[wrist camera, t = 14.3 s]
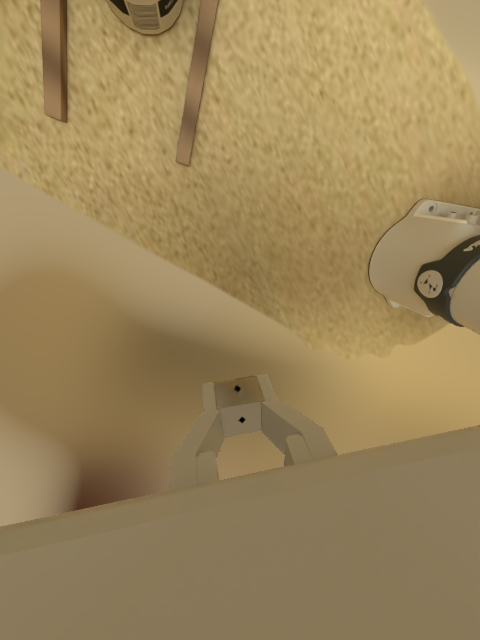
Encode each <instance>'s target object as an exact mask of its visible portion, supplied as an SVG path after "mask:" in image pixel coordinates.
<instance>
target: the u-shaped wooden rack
mask: <svg viewBox="0 0 480 640" xmlns="http://www.w3.org/2000/svg"><path fill="white" fill-rule="evenodd" d="M40 2H41V29H42V56H43V84H44V111H45V115H47V116H49V117H51V118H54V119H57V120H60V121H63V122H65V123H67V0H40ZM217 5H218V0H202V1H201V7H200V13H199V19H198V26H197V32H196V38H195V45H194V51H193V57H192V63H191V70H190V76H189V82H188V89H187V95H186V101H185V107H184V114H183V120H182V126H181V133H180V139H179V145H178V151H177V158H176V162H178V163H181V164H184V165H186V166H189V161H190V155H191V150H192V144H193V138H194V133H195V127H196V122H197V116H198V111H199V105H200V99H201V94H202V88H203V83H204V77H205V72H206V66H207V60H208V55H209V49H210V44H211V38H212V33H213V27H214V21H215V16H216V10H217Z"/></svg>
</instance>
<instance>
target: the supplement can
mask: <svg viewBox="0 0 480 640" xmlns="http://www.w3.org/2000/svg"><path fill="white" fill-rule="evenodd" d="M106 1H107V3H108V5H109V6H110V8H111V9H112V11H113V13H114V14H115V15H116V16H117V17H118V18H119V19H120V20H121V21H123V22H124V23H125V24H126V25H127V26H128V27H129V28H132V29H134V30H136V31H138V32H140V33H142V34H159V33H161V32H163V31H165V30H167V29H169V28H170V27H171V26H172V25H173V23H174V22H175V20H176V19H177V18H178V16H179V15H180V12H181V8H182V5H183V1H184V0H106Z"/></svg>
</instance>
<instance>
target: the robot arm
mask: <svg viewBox="0 0 480 640" xmlns="http://www.w3.org/2000/svg"><path fill="white" fill-rule="evenodd" d="M429 208H430V209H429ZM369 276H370V281H371V284H372V286H373V287H374V288H375V290H376V291H378V292H379V293H380V294H382V295H383V296H384V297H385V298H386V300H387V303H388V304H389V306H391V307H393V308H399V307H402V306H403V307H405V308H408V309H410V310H412V311H414V312H416V313H418V314H421V315H423V316H425V317H431V316H435V315H436V316H438V317H439V318H440V319H442V320H444V321H446V322H448V323H452V324H454V325H456V326H460V327H466V328H468V329H470V330H472V331H474V332H476V333H478V334H480V209H479V208H474V207H468V206H463V205H458V204H452V203H447V202H441V201H436V200H430V199H421V200H420V201H419V202H417V203H416V205H415V206H414V207H413V208H412V209H411V211H410V212H409V213H408V215H407V216H406V217H405V218H404V219H402V220H401V221H400V222H398V223H397V224H395V225H394V226H393V227H392V228H391V229H390V230H389V231H388V232H387V233H386V234H385V235H384V236H383V237H382V239H381V240H380V242H379V243H378V245H377V246H376V248H375V250H374V252H373V255H372V258H371V261H370V267H369ZM202 389H203V403H204V404H203V406H204V412H202V413H200V414H199V416H198V417H197V419H196V421H195V422H194V423H193V425H192V427H191V428H190V430H189V431H188V433H187V434H186V436H185V437H184V439H183V441H182V442H181V443H180V445H179V447H178V448H177V449H176V451H175V452H174V454H173V456H172V457H171V467H170V479H169V491H167V492H162V493H157V494H152V495H148V496H143V497H138V498H134V499H129V500H125V501H120V502H115V503H110V504H105V505H101V506H96V507H91V508H87V509H82V510H77V511H73V512H68V513H63V514H58V515H53V516H49V517H44V518H40V519H35V520H30V521H25V522H20V523H16V524H11V525H6V526H2V527H0V640H480V425H478V426H474V427H468V428H464V429H459V430H454V431H450V432H445V433H440V434H436V435H431V436H426V437H421V438H417V439H412V440H407V441H403V442H398V443H393V444H389V445H383V446H379V447H374V448H369V449H365V450H360V451H355V452H350V453H346V454H341V455H338V454H337V453H336V451H335V449H334V447H333V446H332V443H331V442H330V440H329V438H328V436H327V434H326V433H325V430H324V429H323V428H322V427H321V426H319V425H318V424H316V423H315V422H313V421H312V420H310V419H309V418H307V417H306V416H305V415H303V414H302V413H300V412H299V411H297V410H296V409H294V408H293V407H292V406H290V405H289V404H287V403H286V402H284V401H283V400H281V399H277V398H276V395H275V393H274V390H273V388H272V386H271V383H270V381H269V378H268V376H267V374H261V375H256V376H249V377H243V378H238V379H232V380H224V381H218V382H211V383H204V384H203V385H202ZM257 431H262V432H263V433H264V434H265V435H266V436H267V437H268V438H269V439H270V440H271V441H272V443H274V445H275V446H276V447H277V448H279V450H280V451H281V452H283V454H284V455H285V459H284V467H280V468H275V469H271V470H266V471H261V472H256V473H252V474H247V475H243V476H238V477H233V478H228V479H224V480H219V475H218V469H217V462H216V458H217V455H218V453H219V451H220V448H221V446H222V444H223V441H224V438H226V437H230V436H235V435H239V434H244V433H251V432H257Z"/></svg>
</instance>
